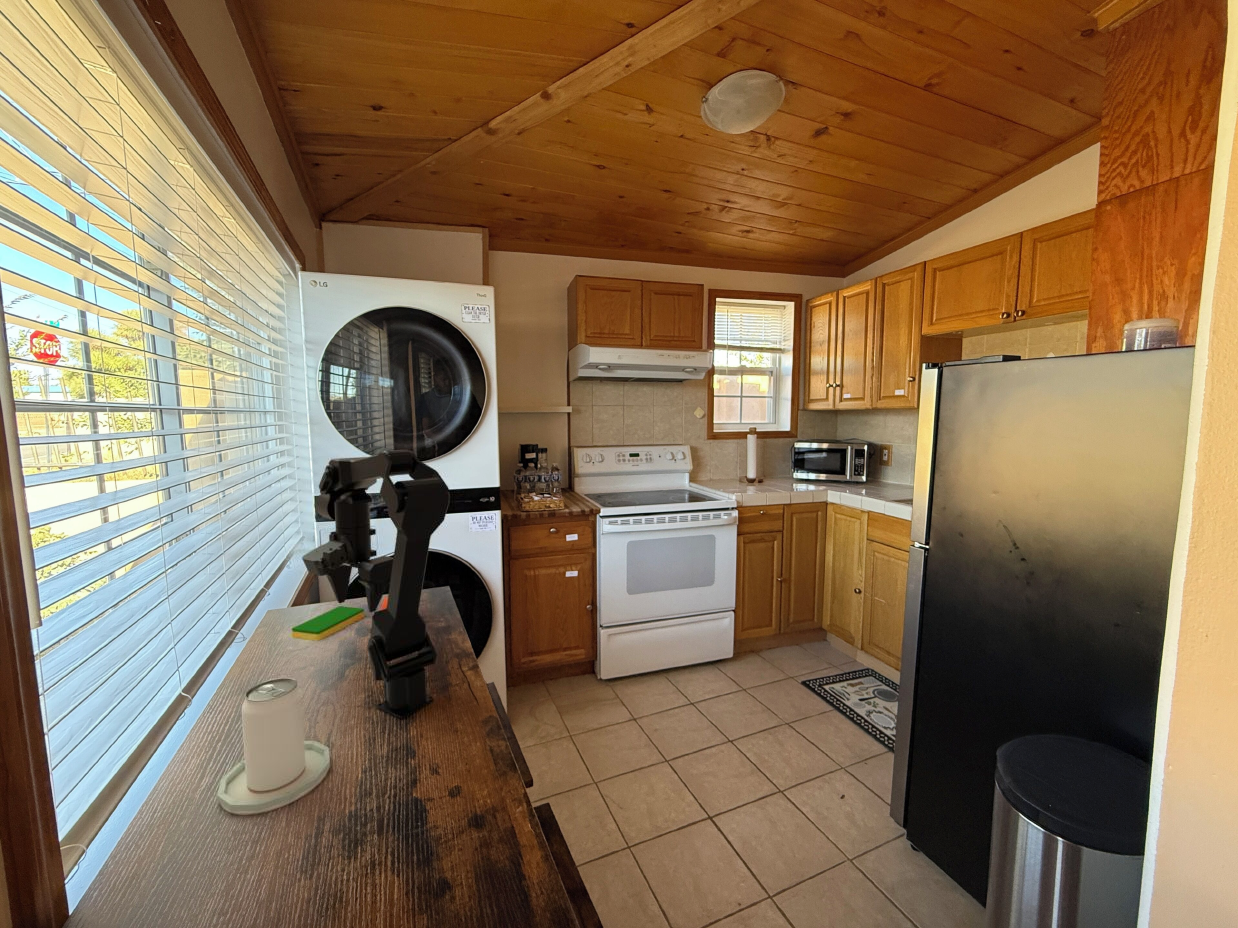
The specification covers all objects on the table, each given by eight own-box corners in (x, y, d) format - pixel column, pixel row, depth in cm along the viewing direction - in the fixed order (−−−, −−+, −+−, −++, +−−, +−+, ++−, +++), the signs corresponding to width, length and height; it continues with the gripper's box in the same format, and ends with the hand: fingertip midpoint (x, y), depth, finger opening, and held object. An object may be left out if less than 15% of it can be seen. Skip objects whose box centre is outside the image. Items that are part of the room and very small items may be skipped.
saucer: (348, 766, 69) (348, 757, 69) (250, 829, 59) (250, 818, 59) (298, 739, 75) (297, 731, 75) (200, 792, 64) (200, 782, 64)
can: (285, 754, 71) (280, 671, 70) (316, 767, 68) (312, 682, 67) (234, 784, 65) (228, 695, 64) (267, 800, 62) (261, 707, 61)
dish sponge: (291, 638, 110) (290, 628, 110) (340, 615, 123) (339, 605, 123) (318, 642, 108) (317, 631, 108) (365, 618, 122) (364, 608, 121)
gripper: (278, 527, 91) (283, 611, 93) (342, 540, 82) (346, 633, 84) (338, 517, 101) (341, 593, 102) (401, 527, 92) (404, 610, 94)
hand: (356, 606), depth 95 cm, fingers open, 9 cm apart
